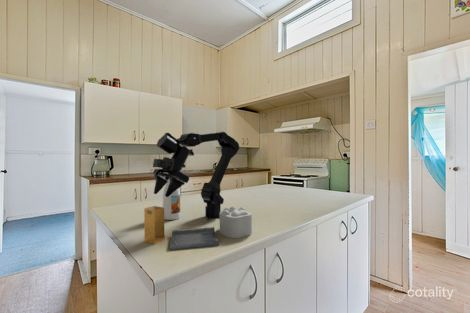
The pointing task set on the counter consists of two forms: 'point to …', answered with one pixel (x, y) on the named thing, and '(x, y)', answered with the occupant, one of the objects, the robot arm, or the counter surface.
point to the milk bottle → (171, 204)
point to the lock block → (154, 224)
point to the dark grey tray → (193, 238)
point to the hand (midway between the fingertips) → (160, 195)
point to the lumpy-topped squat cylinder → (235, 222)
